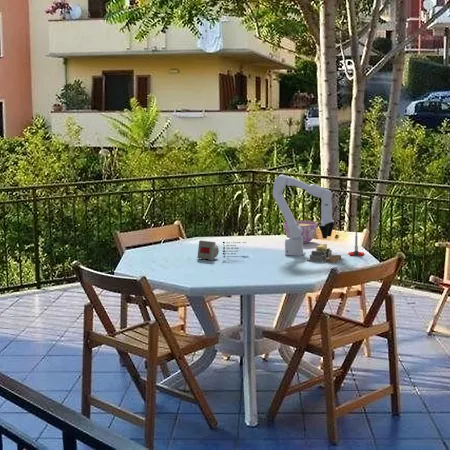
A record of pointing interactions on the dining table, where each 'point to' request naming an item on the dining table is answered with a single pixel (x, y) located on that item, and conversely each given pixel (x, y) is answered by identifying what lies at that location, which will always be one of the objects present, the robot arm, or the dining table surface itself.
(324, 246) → the link bar
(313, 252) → the grey stepped metal block
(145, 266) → the dining table surface
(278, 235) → the dining table surface
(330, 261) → the block
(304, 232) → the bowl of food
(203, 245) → the voltmeter
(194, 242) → the dining table surface
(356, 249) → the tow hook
